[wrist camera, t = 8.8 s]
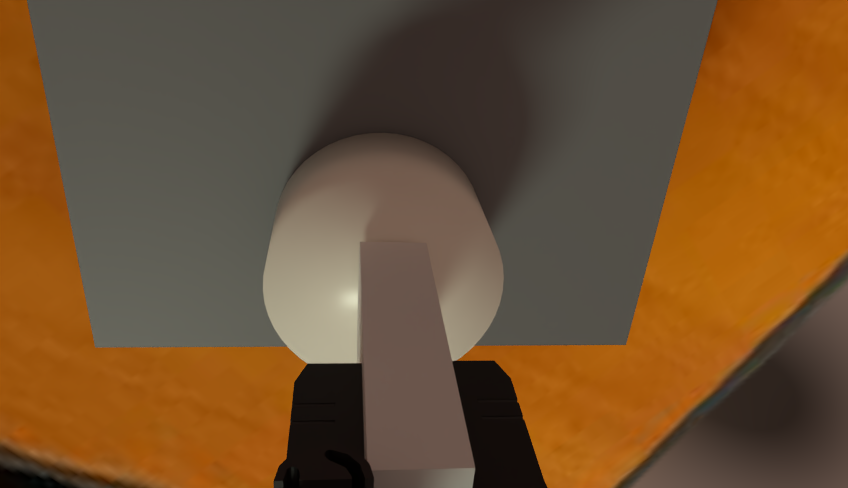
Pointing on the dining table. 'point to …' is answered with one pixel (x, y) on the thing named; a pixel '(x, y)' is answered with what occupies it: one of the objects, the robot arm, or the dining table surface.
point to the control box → (354, 115)
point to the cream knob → (376, 222)
